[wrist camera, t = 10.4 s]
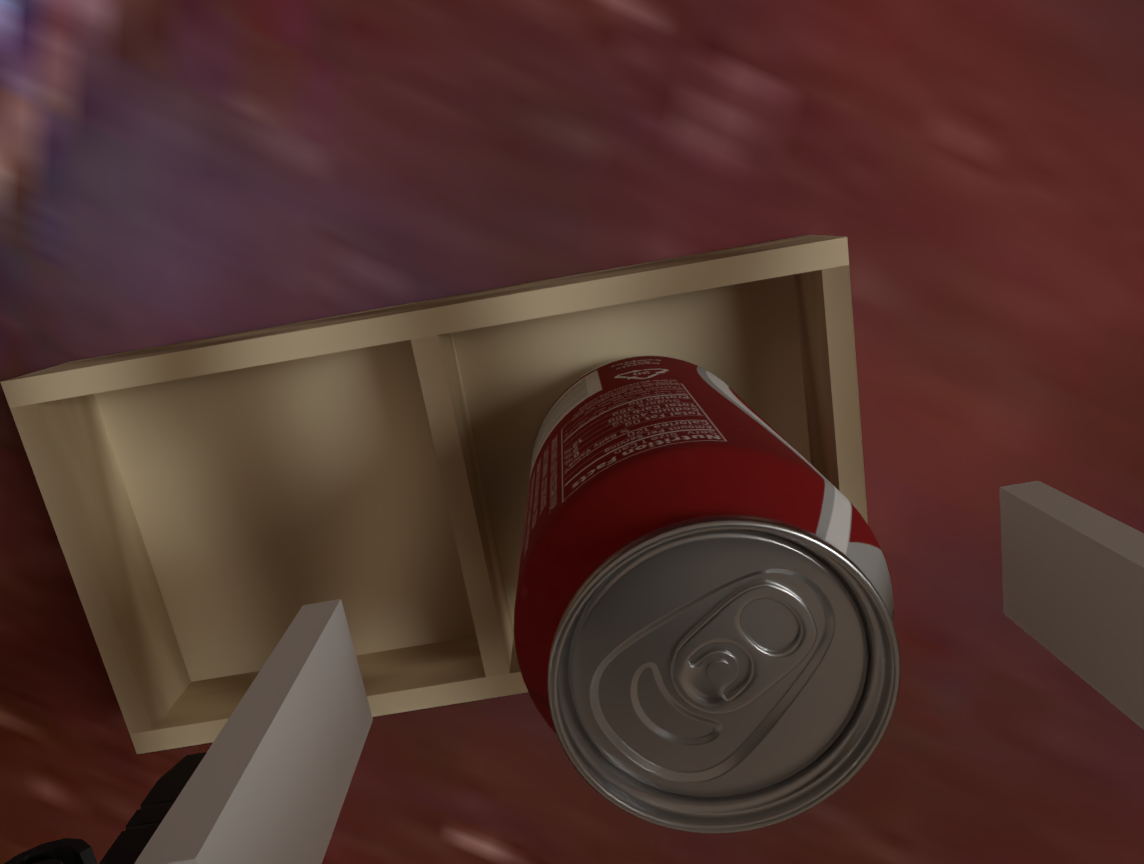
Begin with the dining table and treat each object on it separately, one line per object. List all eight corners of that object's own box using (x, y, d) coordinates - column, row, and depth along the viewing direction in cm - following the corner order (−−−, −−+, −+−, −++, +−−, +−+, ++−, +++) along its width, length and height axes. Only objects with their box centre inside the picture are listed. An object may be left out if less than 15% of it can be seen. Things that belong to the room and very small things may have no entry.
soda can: (485, 462, 24) (415, 690, 12) (647, 302, 23) (741, 384, 11) (640, 605, 25) (711, 934, 13) (800, 460, 24) (1030, 683, 12)
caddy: (183, 695, 26) (137, 754, 23) (69, 361, 23) (-1, 382, 20) (839, 589, 26) (875, 636, 23) (809, 234, 23) (847, 236, 20)
